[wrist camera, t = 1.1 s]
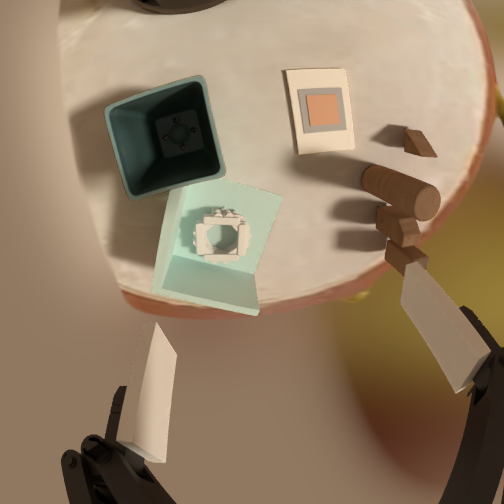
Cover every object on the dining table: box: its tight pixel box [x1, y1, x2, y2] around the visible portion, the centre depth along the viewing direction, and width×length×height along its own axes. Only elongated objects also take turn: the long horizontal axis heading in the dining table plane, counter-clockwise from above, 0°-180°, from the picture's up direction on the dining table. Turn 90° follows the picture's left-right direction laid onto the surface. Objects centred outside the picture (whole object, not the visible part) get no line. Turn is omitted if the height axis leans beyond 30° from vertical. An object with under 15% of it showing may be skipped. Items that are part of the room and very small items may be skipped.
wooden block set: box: [362, 129, 441, 276], centre depth 28 cm, size 18×9×10 cm, turn 5°
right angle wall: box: [151, 178, 283, 316], centre depth 30 cm, size 12×12×8 cm
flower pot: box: [104, 75, 226, 201], centre depth 23 cm, size 9×9×9 cm
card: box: [286, 69, 355, 155], centre depth 27 cm, size 10×7×1 cm
